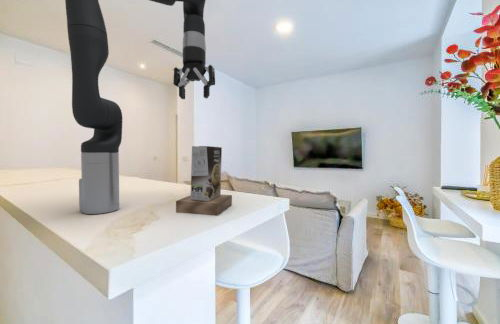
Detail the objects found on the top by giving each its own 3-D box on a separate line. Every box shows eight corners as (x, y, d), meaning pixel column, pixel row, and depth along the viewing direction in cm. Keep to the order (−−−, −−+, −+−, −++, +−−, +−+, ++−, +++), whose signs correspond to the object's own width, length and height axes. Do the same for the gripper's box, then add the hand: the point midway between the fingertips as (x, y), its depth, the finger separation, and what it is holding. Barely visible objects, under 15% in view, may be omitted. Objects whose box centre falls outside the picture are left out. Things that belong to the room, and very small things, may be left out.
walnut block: (176, 214, 65) (175, 200, 65) (196, 204, 78) (196, 193, 78) (217, 217, 62) (217, 203, 62) (231, 206, 75) (231, 195, 75)
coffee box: (209, 201, 64) (211, 146, 63) (189, 200, 66) (190, 145, 65) (221, 195, 73) (222, 147, 72) (203, 194, 74) (204, 146, 74)
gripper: (169, 46, 73) (169, 96, 73) (209, 42, 70) (209, 94, 70) (180, 56, 80) (180, 101, 81) (218, 53, 77) (217, 100, 78)
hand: (194, 98), depth 76 cm, fingers open, 8 cm apart
